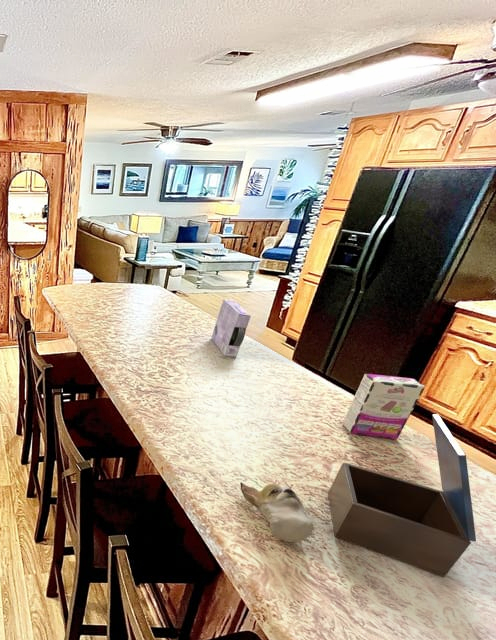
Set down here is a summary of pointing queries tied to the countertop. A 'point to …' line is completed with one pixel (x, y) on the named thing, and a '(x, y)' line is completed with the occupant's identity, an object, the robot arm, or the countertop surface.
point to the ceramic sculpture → (280, 511)
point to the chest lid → (454, 476)
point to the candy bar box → (382, 405)
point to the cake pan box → (230, 327)
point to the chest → (396, 519)
